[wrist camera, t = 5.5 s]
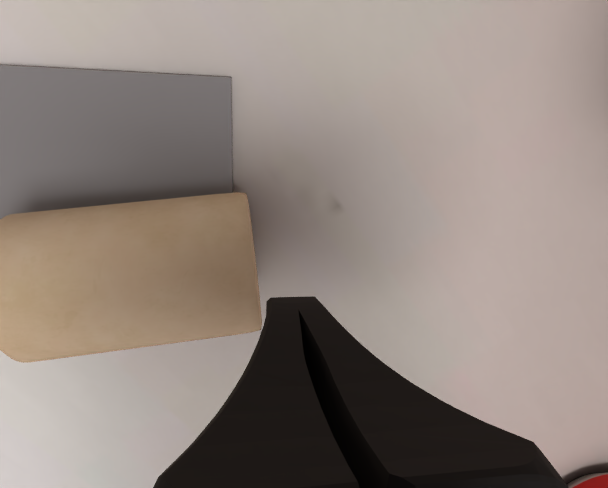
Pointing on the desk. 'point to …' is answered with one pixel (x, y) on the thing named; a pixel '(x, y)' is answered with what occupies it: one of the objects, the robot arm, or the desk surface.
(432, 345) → the desk surface
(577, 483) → the soda can
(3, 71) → the mat
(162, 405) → the desk surface
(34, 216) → the candle
